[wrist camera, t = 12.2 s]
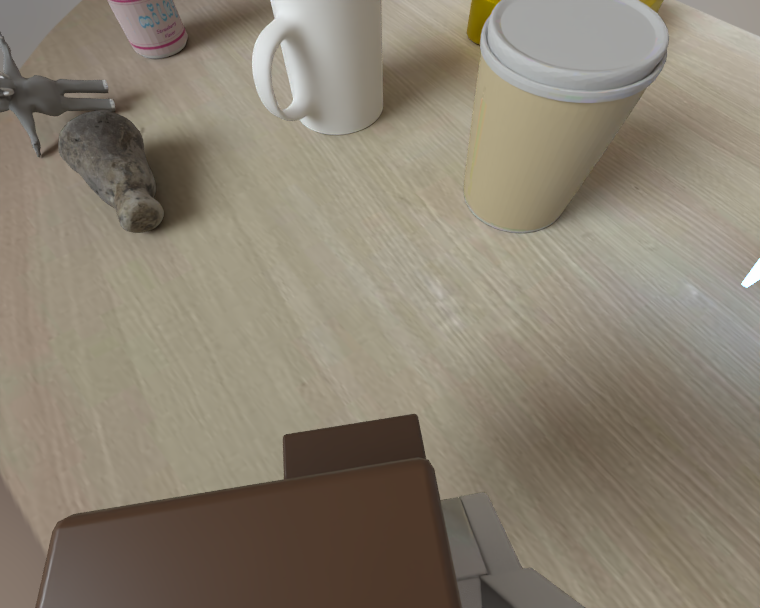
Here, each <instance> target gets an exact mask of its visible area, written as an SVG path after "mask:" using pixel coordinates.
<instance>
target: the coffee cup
mask: <svg viewBox="0 0 760 608" xmlns="http://www.w3.org/2000/svg"><path fill="white" fill-rule="evenodd" d="M668 42H669V34H668V29H667V27H666V25H665V23H664V21H663V20H662V18H661V17H660V16H659V15H658V14H657V13H656V12H655V11H654V10H653V9H651V8H650V7H649V6H647V5H646V4H644V3H642V2H641V1H639V0H501V1H500V2H499V3H498V4H497V5H496V6H495V8H494V9H493V11H492V13H491V15H490V16H489V18H488V19H487V20H486V22H485V24H484V26H483V29H482V33H481V39H480V49H481V57H480V63H479V69H478V77H477V84H476V91H475V99H474V106H473V114H472V122H471V130H470V138H469V146H468V154H467V162H466V170H465V179H464V197H465V201H466V203H467V206H468V207H469V209H470V210H471V212H472V213H473V214H474V215H475V216H476V217H477V218H478V219H480V220H481V221H482V222H484V223H486V224H487V225H489V226H491V227H493V228H496V229H499V230H502V231H506V232H513V233H528V232H534V231H538V230H541V229H543V228H545V227H548V226H549V225H551V224H552V223H553V222H554V221H555V220H557V219H558V217H559V216H560V215H561V214H562V212H563V211H564V209H565V208H566V207H567V205H568V204H569V203H570V201H571V200H572V198H573V197H574V195H575V194H576V192H577V191H578V189H579V188H580V187H581V185H582V184H583V182H584V181H585V179H586V178H587V176H588V175H589V173H590V172H591V170H592V169H593V168H594V166H595V165H596V163H597V162H598V160H599V159H600V157H601V156H602V154H603V153H604V151H605V150H606V148H607V147H608V145H609V144H610V142H611V141H612V140H613V138H614V137H615V135H616V134H617V132H618V131H619V129H620V128H621V126H622V125H623V123H624V122H625V120H626V119H627V117H628V116H629V114H630V113H631V111H632V110H633V108H634V107H635V105H636V104H637V102H638V100H639V99H640V97H641V96H642V94H643V93H644V91H645V90H646V88H647V87H648V86H649V85H650V84H651V83H652V82H653V81H654V80H655V79H656V77H657V76H658V75H659V73H660V72H661V71H662V69H663V67H664V64H665V62H666V58H667V47H668Z"/></svg>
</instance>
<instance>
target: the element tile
mask: <svg viewBox="0 0 760 608" xmlns="http://www.w3.org/2000/svg"><path fill="white" fill-rule="evenodd" d="M500 1H501V0H472V2H471V8H470V15H469V21H468V27H467V35H468V38H469V39H470V40H472V41H473V42H474V43H476V44H478V45H480V39H481V33H482V29H483V26H484V24H485V22H486V20H487V19H488V18H489V16H490V15H491V13H492V11H493V9H494V8H495V6H496V5H497V4H498V3H499V2H500ZM639 1H641V2H642V3H644V4H646V5H647V6H649V7H650V8H651V9H653V10H654V11H655V12H656V13H657V12H658V10H659V8H660V6H661V4H662V2H663V0H639Z"/></svg>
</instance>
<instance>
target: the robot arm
mask: <svg viewBox="0 0 760 608" xmlns="http://www.w3.org/2000/svg"><path fill="white" fill-rule="evenodd" d="M759 279H760V259H759V260H758V262H757V263H756V264H755V266H754V267H753V268H752V270H751V271H750V273H749V274H748V275H747V277H746V278H745V279H744V281H743V282H742V285H743V286H745V287H749V286H750V285H752V284H753V283H755V282H756V281H758V280H759ZM440 501H441V505H442V510H443V515H444V520H445V525H446V530H447V535H448V540H449V545H450V550H451V555H452V560H453V565H454V570H455V575H456V580H457V585H458V590H459V595H460V600H461V605H462V608H585V607H584V606H582V605H581V604H580V603H578V602H577V601H576V600H574V599H573V598H572V597H570V596H569V595H568V594H566V593H565V592H564V591H562V590H561V589H560V588H558V587H557V586H556V585H554V584H553V583H552V582H550V581H549V580H547V579H546V578H545V577H543V576H542V575H541V574H539V573H538V572H537V571H535V570H534V569H533V568H524V569H523V568H522V566H521V564H520V562H519V560H518V558H517V556H516V554H515V551H514V549H513V547H512V545H511V543H510V541H509V539H508V537H507V534H506V532H505V530H504V528H503V526H502V524H501V522H500V520H499V517H498V515H497V513H496V511H495V509H494V507H493V505H492V503H491V501H490V498H489V496H488V495H487V494H486V493H485V492H482V493H476V494H471V495H465V496H460V497H459V498H458V497H456V498H450V499H444V500H440Z"/></svg>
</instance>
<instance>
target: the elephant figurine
mask: <svg viewBox="0 0 760 608" xmlns="http://www.w3.org/2000/svg"><path fill="white" fill-rule="evenodd" d="M0 48H1V50H2V51H3V53H4V73H2V72H0V75H1V77H0V112H4V111H8V110H9V109H10V110H11V111H13V112H14V113H15V114H16V116H17V117H18V119H19V120H20V122H21V124H22V125H23V127H24V128H25V130H26V131H27V133H28V134H29V136H30V138H31V143H32V146H33V148H34V150H35V151H36V153H37V157H40V156H41V153H40V142H39V139H38V137H37V134H36V129H35V122H34V119H33V115H32V113H33V112H38V113H43V114H46V115H50V116H59V115H61V114H63V113H64V112H66V111H84V110H95V111H96V110H107V111H110V112H115V105H114V101H113V99H92V98H67V97H64V93H108V86H107V85H108V84H107V82H106V80H67V79H59V80H57V81H54V80H51V79H48V78H46V77H42V76H37V75H34V76H33V77H31V78H28V79H27V78H24V77H22V76H21V74H20V72H19V70H18V68H17V66H16V64H15V63H14V61H13V59H12V57H11V50H10V48H9V46H8V44H7V43H6V42H5V40H4V37H3V36H2V35H1V33H0Z"/></svg>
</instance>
